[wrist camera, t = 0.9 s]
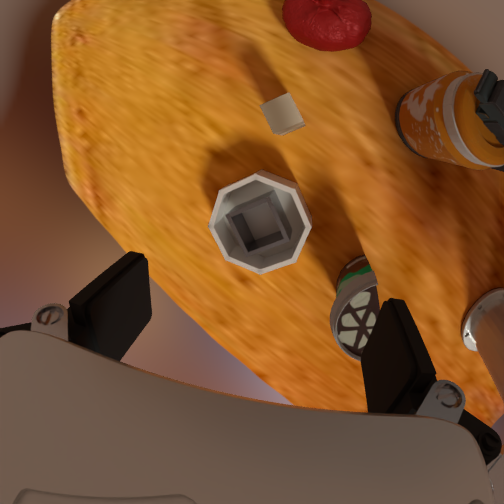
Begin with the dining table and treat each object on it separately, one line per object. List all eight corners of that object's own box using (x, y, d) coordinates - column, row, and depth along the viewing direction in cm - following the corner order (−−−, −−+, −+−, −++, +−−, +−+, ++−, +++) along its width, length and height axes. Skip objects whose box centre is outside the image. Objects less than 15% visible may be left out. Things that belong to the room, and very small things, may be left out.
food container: (318, 255, 38) (319, 293, 28) (362, 244, 36) (377, 279, 27) (337, 327, 41) (340, 374, 32) (376, 318, 39) (387, 364, 30)
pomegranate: (361, 66, 27) (377, 43, 19) (281, 52, 28) (270, 25, 20) (366, 5, 23) (379, -29, 15) (289, -8, 24) (281, -44, 16)
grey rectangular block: (294, 104, 31) (289, 92, 23) (305, 125, 32) (303, 120, 23) (272, 113, 32) (259, 105, 24) (283, 135, 33) (273, 133, 24)
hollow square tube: (274, 189, 35) (269, 195, 31) (292, 229, 36) (289, 241, 32) (234, 206, 36) (225, 215, 33) (253, 244, 38) (246, 257, 34)
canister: (414, 75, 26) (500, 30, 8) (474, 132, 26) (578, 144, 8) (380, 127, 30) (456, 117, 11) (443, 182, 30) (541, 230, 12)
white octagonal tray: (286, 158, 34) (283, 160, 29) (321, 240, 37) (322, 253, 32) (207, 194, 37) (195, 201, 33) (244, 267, 40) (236, 282, 36)
